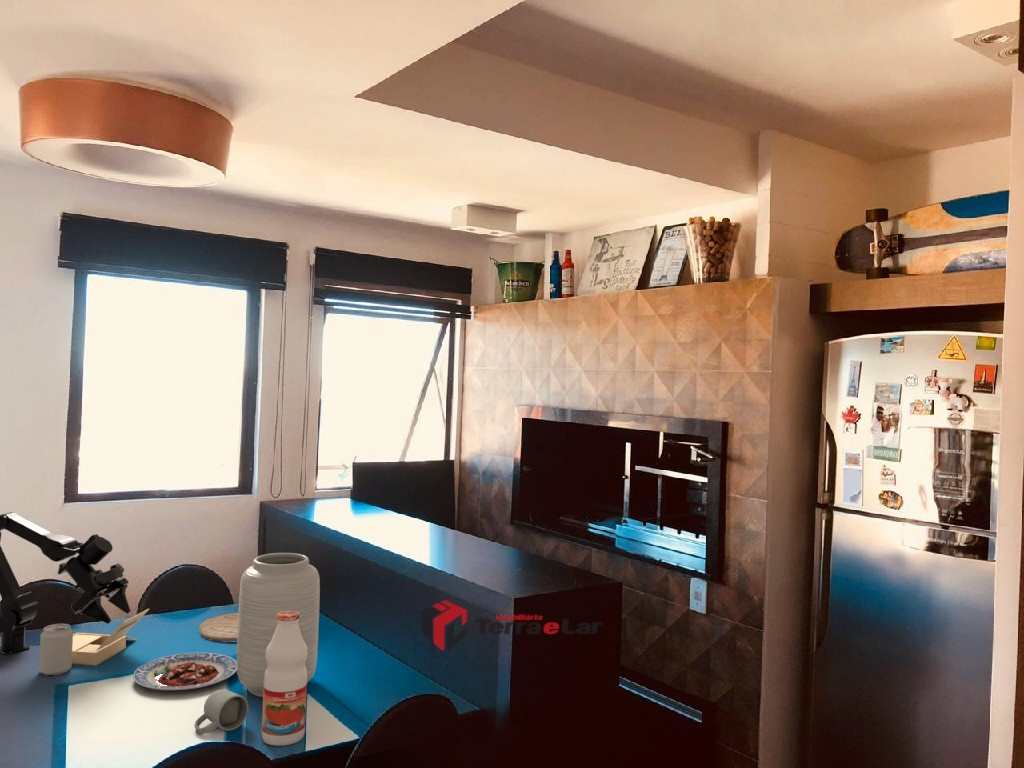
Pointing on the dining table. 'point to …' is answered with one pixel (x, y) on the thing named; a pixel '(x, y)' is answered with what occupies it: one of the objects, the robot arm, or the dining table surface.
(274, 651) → the fruit juice
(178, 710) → the dining table surface
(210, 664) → the ceramic plate
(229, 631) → the trivet
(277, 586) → the vase
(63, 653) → the can
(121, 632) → the flap
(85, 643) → the carton
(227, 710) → the ceramic mug
